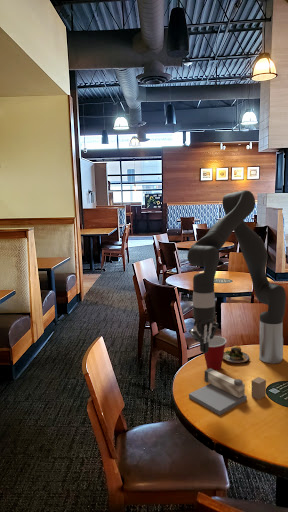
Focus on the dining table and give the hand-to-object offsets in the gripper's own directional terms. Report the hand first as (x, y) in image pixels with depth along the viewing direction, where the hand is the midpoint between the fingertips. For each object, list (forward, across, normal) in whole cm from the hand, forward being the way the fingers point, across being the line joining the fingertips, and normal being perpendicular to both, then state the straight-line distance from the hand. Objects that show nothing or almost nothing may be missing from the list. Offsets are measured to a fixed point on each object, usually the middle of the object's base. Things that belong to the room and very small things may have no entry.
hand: (204, 352), depth 125 cm
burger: (+17, -32, -12) cm, 38 cm away
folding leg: (+15, -7, +3) cm, 17 cm away
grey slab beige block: (+16, -6, +5) cm, 18 cm away
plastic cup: (+17, -19, -13) cm, 28 cm away
